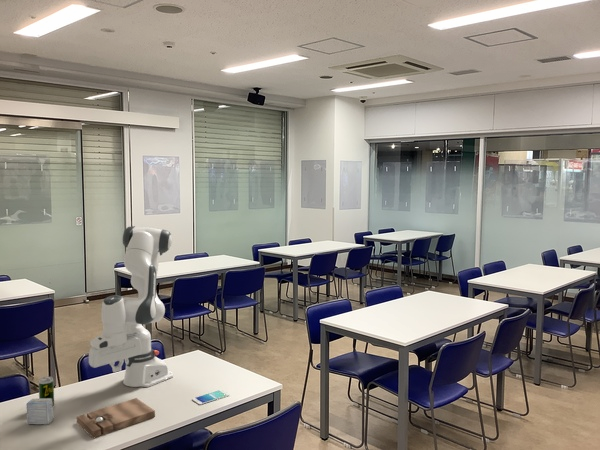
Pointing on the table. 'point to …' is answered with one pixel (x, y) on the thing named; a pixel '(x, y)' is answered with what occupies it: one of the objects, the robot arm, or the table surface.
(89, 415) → the grooved wooden board
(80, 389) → the table surface
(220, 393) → the smartphone
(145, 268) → the robot arm
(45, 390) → the beer can
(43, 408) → the medicine box
